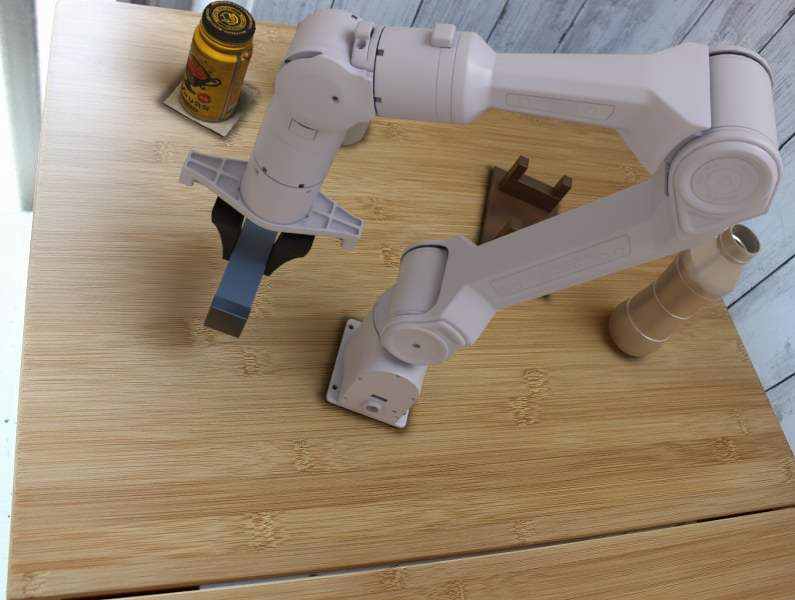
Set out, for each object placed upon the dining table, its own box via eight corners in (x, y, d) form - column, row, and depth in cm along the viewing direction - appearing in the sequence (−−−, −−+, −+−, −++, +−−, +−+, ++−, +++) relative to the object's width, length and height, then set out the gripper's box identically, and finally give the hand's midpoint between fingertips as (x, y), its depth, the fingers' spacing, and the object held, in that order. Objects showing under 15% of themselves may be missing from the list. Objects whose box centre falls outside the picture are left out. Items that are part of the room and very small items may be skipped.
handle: (238, 338, 69) (247, 319, 67) (202, 325, 68) (210, 306, 66) (282, 216, 77) (291, 195, 75) (250, 204, 77) (259, 182, 74)
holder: (546, 297, 95) (573, 270, 90) (475, 268, 93) (500, 238, 88) (556, 198, 104) (581, 168, 100) (492, 169, 103) (514, 138, 98)
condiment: (162, 104, 88) (182, 16, 79) (199, 61, 93) (222, -26, 84) (224, 138, 89) (250, 55, 80) (257, 93, 94) (286, 11, 85)
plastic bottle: (614, 365, 93) (737, 268, 78) (592, 313, 96) (707, 209, 81) (657, 362, 96) (784, 268, 81) (635, 311, 99) (753, 211, 84)
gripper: (391, 159, 65) (337, 255, 76) (214, 83, 62) (183, 194, 73) (374, 224, 61) (319, 317, 71) (182, 146, 58) (155, 254, 69)
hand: (249, 259), depth 72 cm, fingers closed on handle, 3 cm apart
